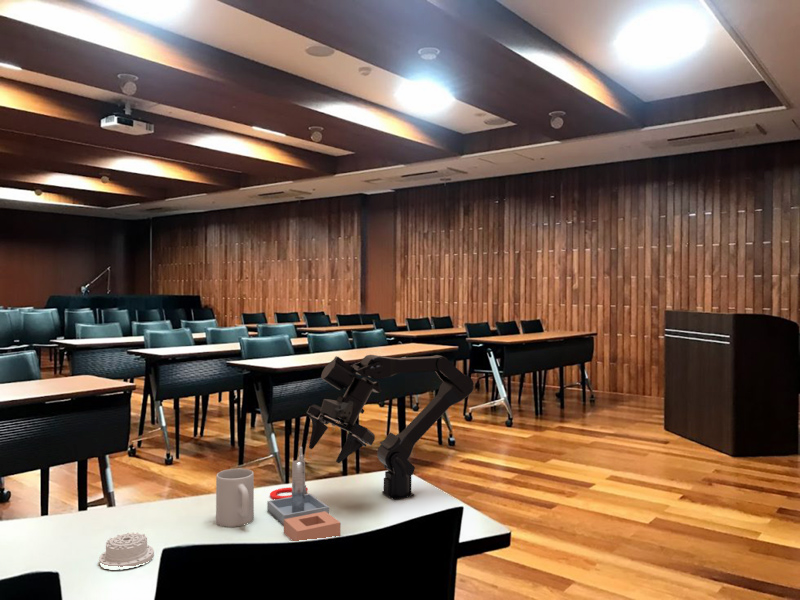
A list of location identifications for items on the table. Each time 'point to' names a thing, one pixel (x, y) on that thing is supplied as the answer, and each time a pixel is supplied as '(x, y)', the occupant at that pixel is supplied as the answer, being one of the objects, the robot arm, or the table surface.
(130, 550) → the mechanical component
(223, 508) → the mug
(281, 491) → the tow hook
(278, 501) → the tray
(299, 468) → the pin
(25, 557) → the table surface
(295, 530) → the block
